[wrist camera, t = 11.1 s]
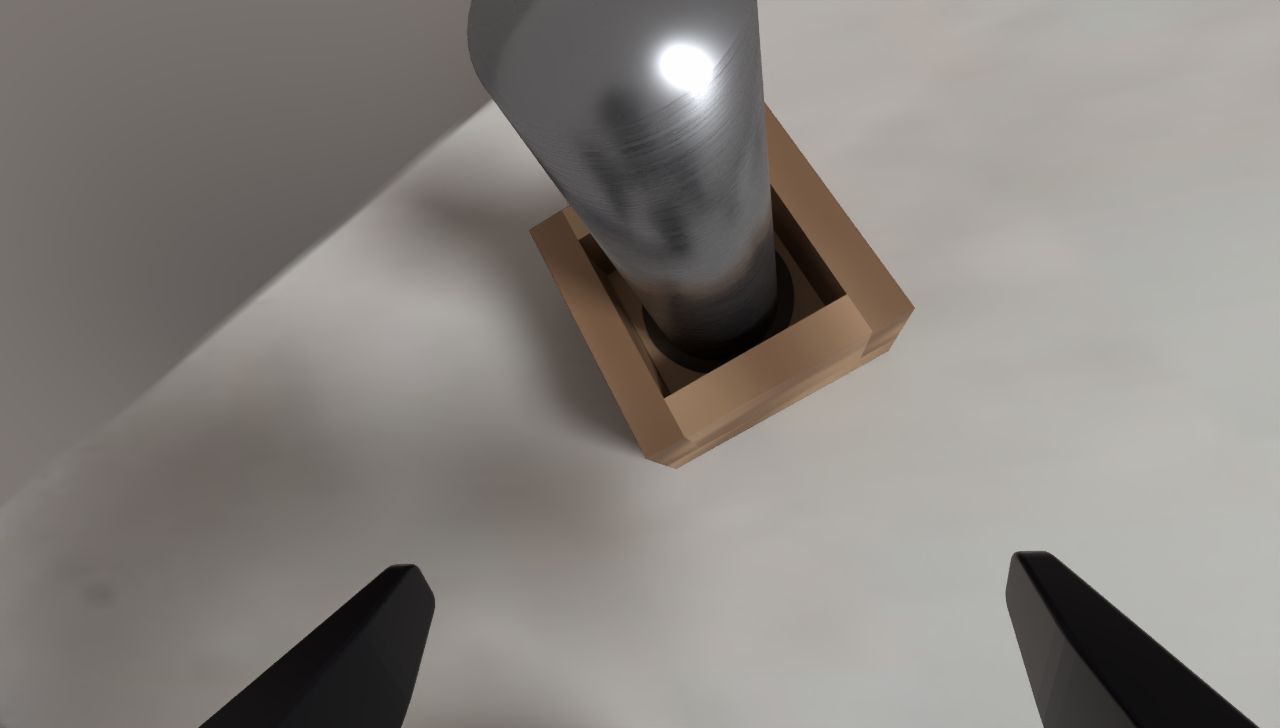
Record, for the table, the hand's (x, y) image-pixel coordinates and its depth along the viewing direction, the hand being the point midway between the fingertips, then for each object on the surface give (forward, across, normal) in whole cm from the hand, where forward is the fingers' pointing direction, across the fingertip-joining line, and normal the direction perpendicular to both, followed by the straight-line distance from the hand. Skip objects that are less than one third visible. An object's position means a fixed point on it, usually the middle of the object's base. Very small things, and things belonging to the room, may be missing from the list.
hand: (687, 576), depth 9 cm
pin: (+12, 0, +1) cm, 12 cm away
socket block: (+13, 0, +2) cm, 13 cm away
